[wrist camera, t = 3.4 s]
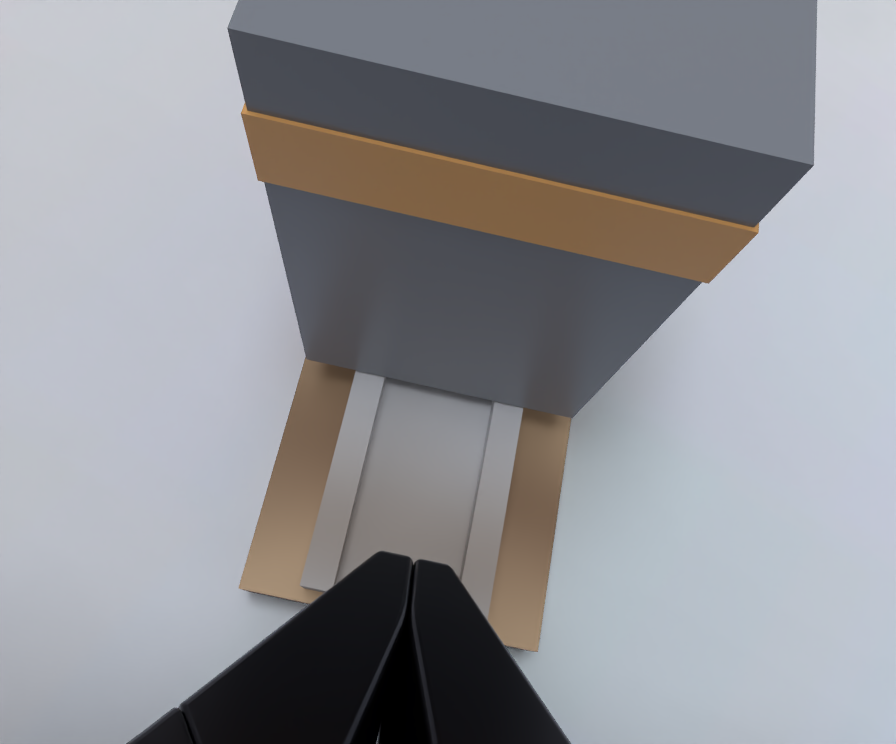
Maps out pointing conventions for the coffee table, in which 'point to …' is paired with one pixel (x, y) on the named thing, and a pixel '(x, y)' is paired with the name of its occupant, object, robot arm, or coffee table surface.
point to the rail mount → (412, 493)
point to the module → (516, 173)
